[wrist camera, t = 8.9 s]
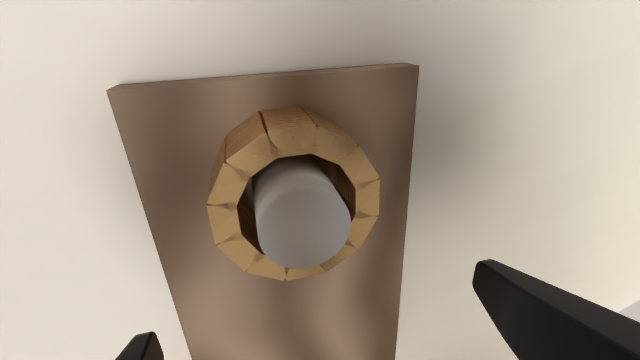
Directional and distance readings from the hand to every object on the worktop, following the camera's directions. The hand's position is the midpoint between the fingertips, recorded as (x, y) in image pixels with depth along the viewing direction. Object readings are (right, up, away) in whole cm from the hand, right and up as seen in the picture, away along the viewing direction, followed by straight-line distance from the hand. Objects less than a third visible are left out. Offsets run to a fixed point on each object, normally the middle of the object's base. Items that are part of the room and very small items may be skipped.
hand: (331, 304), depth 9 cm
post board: (-2, -1, +12) cm, 12 cm away
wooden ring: (-2, +3, +8) cm, 9 cm away
